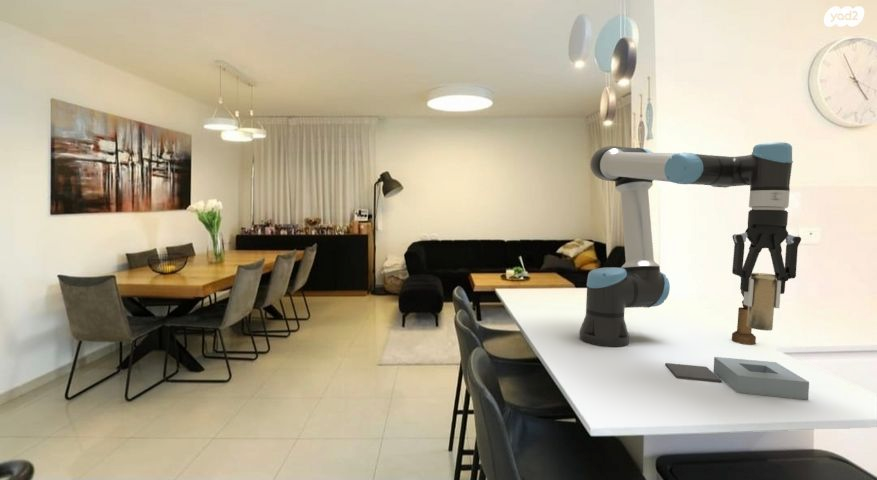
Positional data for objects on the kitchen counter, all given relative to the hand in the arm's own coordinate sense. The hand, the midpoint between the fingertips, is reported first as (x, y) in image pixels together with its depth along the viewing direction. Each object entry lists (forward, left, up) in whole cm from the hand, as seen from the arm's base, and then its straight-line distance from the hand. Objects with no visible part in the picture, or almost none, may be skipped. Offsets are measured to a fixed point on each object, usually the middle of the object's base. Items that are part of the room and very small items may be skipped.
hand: (760, 305), depth 105 cm
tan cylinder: (0, 0, -5) cm, 5 cm away
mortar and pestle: (+15, +43, -19) cm, 49 cm away
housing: (0, 0, -19) cm, 19 cm away
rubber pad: (-13, +4, -19) cm, 23 cm away
